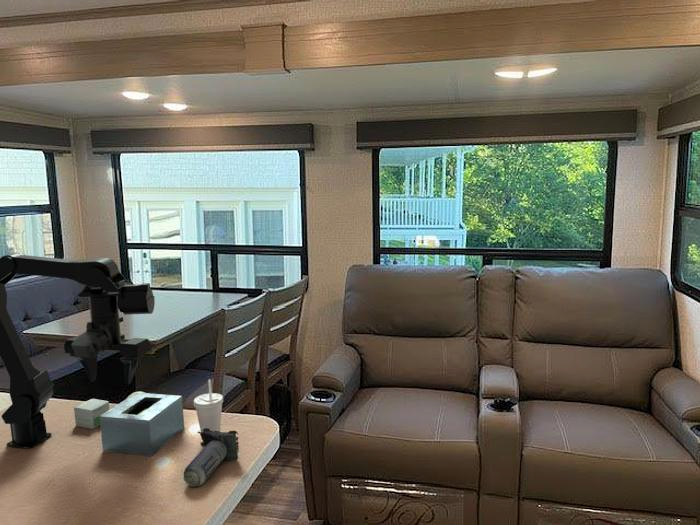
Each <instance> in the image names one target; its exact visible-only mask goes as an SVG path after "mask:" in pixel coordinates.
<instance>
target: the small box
mask: <svg viewBox="0 0 700 525" xmlns="http://www.w3.org/2000/svg"><path fill="white" fill-rule="evenodd" d="M108 410H110V401H108V400H102V399H97V398H90V399H89V400H86V401H85V402H82V403H80V404H78V405H77V406H74V407H73V412H74V419H75V421H74V422H75V426H76V427H81V428H85V429H92V430H93V429H95V428H97V427H99V426H100V418H99V416H100V415H102V414H104V413H105V412H107V411H108Z"/></svg>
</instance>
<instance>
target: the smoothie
mask: <svg viewBox="0 0 700 525" xmlns="http://www.w3.org/2000/svg"><path fill="white" fill-rule="evenodd" d="M207 383H208V384H207V386H208V393H204V394H200V395H198V396H195V398H194V399H193V406H194V408H195V410H196V416H197V421H198V425H199V430H200V432H203V431H201V430H202V429H203V430H204V428H209V429H210V431H213V432H214V431H219V432H221V426H222V424H221V423H222V422H221V421H222V411H223V410H222V409H223V408H222V407H223V403H224V397H223V394H220V393H214V392H212V381H211V379H208V380H207Z"/></svg>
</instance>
